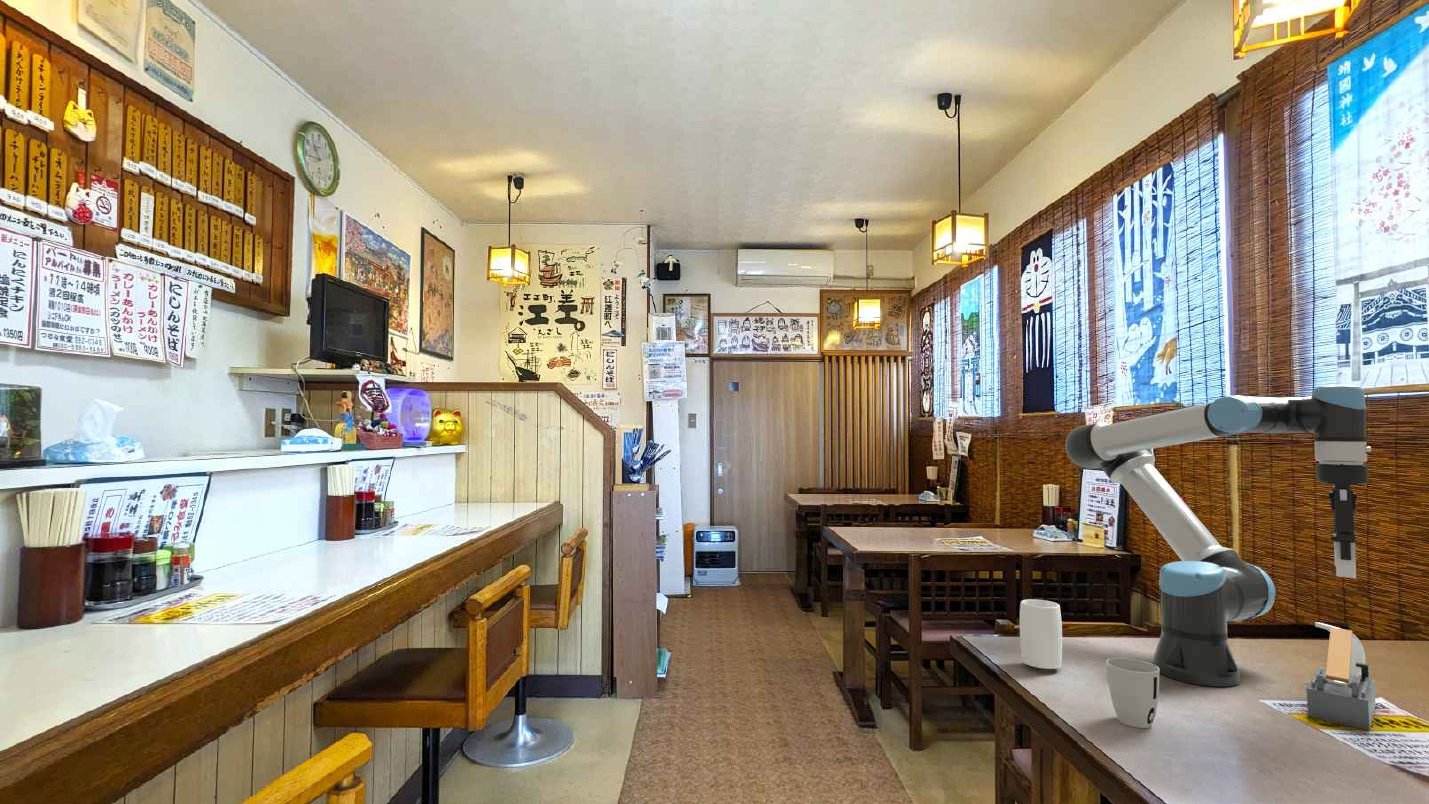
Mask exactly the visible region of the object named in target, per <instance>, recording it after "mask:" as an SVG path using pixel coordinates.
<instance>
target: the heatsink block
mask: <svg viewBox="0 0 1429 804" xmlns="http://www.w3.org/2000/svg"><path fill="white" fill-rule="evenodd" d="M1356 667H1361V675H1359V676H1355V675H1350V680H1349V683H1345V682H1340V681H1335V680H1330V679H1327V678H1326V671H1327V668H1325V669H1323V667H1321V666H1319V667H1318V668H1316V669H1315V672H1314V673H1313V676H1312V678H1311V679H1310V681H1309V683H1308V686H1307V687H1306V702H1307V717H1309V718H1313V719H1318V720H1322V721H1326V722H1331V723H1335V724H1339V725H1344V726H1349V727H1351V728H1352V727H1353V728H1357V729H1361V730H1366V731H1370V730H1371V726H1372V722H1373V718H1374V714H1375V711H1376V692H1375V688H1376V687H1375V679H1374V678H1370V665H1369V664H1367V663H1365V664H1362V663H1357V662H1356Z"/></svg>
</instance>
